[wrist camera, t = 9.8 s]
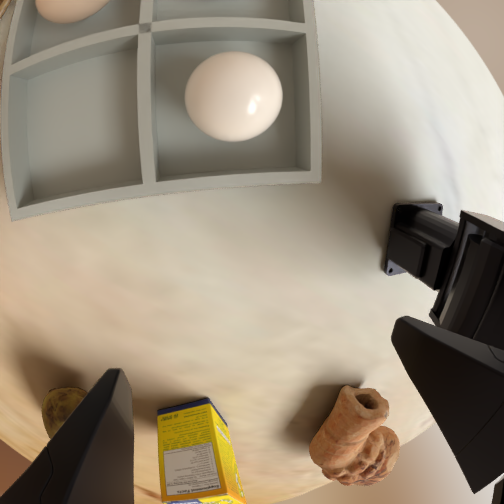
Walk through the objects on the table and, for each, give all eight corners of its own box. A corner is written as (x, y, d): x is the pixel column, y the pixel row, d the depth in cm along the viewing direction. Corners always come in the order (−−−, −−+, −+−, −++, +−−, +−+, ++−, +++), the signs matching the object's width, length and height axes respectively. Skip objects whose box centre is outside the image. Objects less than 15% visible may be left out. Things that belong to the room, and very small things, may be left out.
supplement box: (180, 434, 27) (190, 516, 17) (156, 408, 24) (159, 503, 14) (228, 423, 27) (249, 507, 17) (209, 396, 25) (228, 495, 15)
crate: (288, -49, 11) (302, -67, 8) (302, 175, 18) (321, 182, 16) (42, -19, 7) (28, -33, 5) (32, 209, 15) (11, 221, 12)
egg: (266, 65, 14) (294, 41, 10) (268, 140, 16) (298, 141, 12) (184, 67, 14) (183, 39, 9) (187, 145, 16) (185, 145, 11)
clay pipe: (282, 438, 38) (360, 446, 38) (280, 493, 28) (368, 494, 28) (337, 360, 31) (424, 375, 31) (352, 428, 21) (450, 429, 21)
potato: (29, 397, 21) (12, 450, 13) (73, 349, 20) (49, 420, 12) (85, 432, 24) (78, 485, 17) (143, 397, 23) (141, 466, 16)
